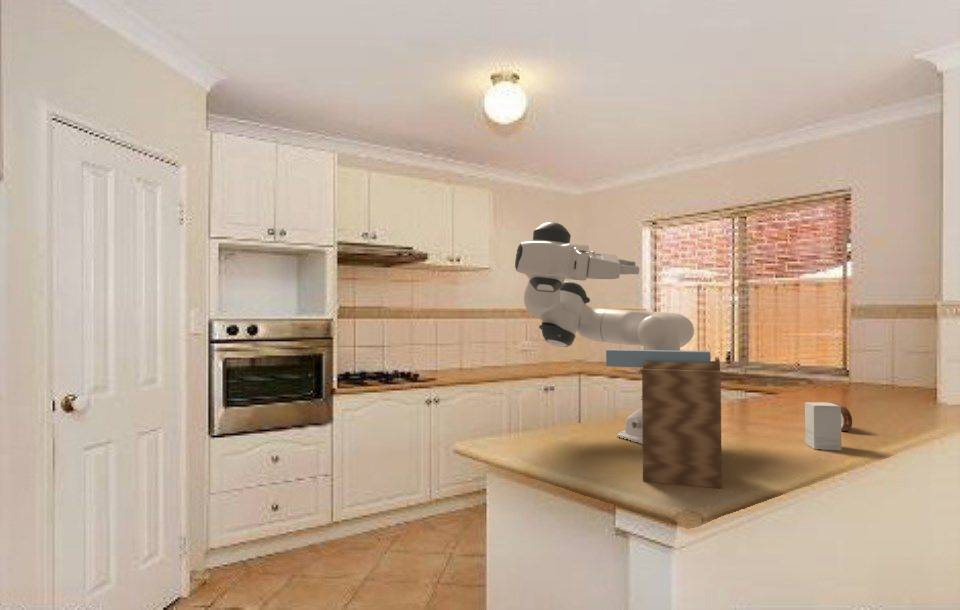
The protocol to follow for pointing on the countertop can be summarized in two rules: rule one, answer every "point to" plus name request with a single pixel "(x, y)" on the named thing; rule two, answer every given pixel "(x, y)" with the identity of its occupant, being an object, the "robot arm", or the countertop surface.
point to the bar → (653, 357)
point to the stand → (682, 423)
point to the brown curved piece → (845, 418)
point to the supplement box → (823, 425)
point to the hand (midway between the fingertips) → (637, 267)
